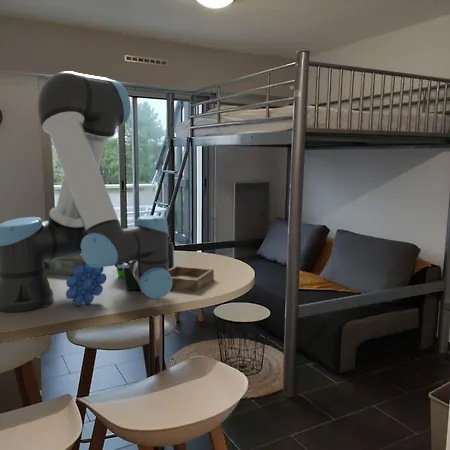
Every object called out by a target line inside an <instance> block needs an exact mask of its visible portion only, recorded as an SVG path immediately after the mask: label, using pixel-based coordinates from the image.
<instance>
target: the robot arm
mask: <svg viewBox="0 0 450 450" xmlns="http://www.w3.org/2000/svg"><path fill="white" fill-rule="evenodd" d="M131 107H132V105H131V99H130V96H129V93H128V91H127V89H126V87H125V86H124V85H123V84H122V83H121V82H120V81H117V80H114V79H111V78H107V77H103V76H95V75H90V74H85V73H84V74H83V73H79V72H75V71H60V72H57V73H55V74H52V75H51V76H49V77H48V79H46V80H45V82H44V83H43V85H42V87H41V88H40V91H39V94H38V98H37V115H38V121H39V122H40V125H41V129H42V130H43V132H44V133H46V134H48V135H49V137H50V139H51V142H52V144H53V147H54V150H55V152H56V153H55V154H56V155H57V158H58V160H59V163H60V166H61V169H62V171H63V174H64V175H63V178H62V183H61V186H60V190H59V196H58V199H57V200H58V201H57V203H56V206H55V207H52V208H51V209H50V210H49V213H48V218H47V220H42V218H41V217H38V216H27V217H19V218H13V219H10V220H6V221H3V222H2V223H0V312H3V313H4V312H5V313H17V312H18V313H19V312H27V311H33V310H38V309H42V308H43V307H46V306H48V305H50V304H52V303H53V301H54V291H53V288H51V285H50V283H49V279H48V277H47V273H45V262H47V261H52V260H57V259H62V258H68V257H75V256H78V255H82V258H83V260H84V261H85V263H86V264H87V265H88V266H90V267H92V268H100V267H103V268H105V267H112V266H114V267H115V268H116V269H117V268H118V271H122V270H123V269H125V268H128V269H129V270H131V272H132V274H133V276H134V277H135V279H136V281H137V282H138V284H139V286H140V289H139V290H141V292H142V293H143V294H144V295H145V296H147V297H148V298H150V299H161V298H164V297H165V296H166V297H167V295H168V294H169V293H170V292H171V290H172V289H171V288H172V278H171V276H170V273H169V260H168V235H170V234H169V225H168V220H167V218H166V217H165V216H161V215H141V216H139V217H137V218H136V221H135V222H136V223H135V226H132V227H126V228H122V226H121V223H120V221H119V218H118V215H117V213H116V210H115V208H114V204H113V202H112V200H111V197H110V194H109V192H108V188H107V185H106V184H105V182H104V178H103V175H102V173H101V170H100V167H101V164H102V160H103V157H104V156H103V155H104V153H105V148H106V145H107V141H108V140H109V139H111V138H113V137H114V136H115V134H116V130H117V127H119V126H123V125H124V124H125V123H127V122H128V121H129V118H130V115H131V110H132V109H131Z"/></svg>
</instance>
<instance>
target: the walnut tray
mask: <svg viewBox="0 0 450 450" xmlns="http://www.w3.org/2000/svg"><path fill="white" fill-rule="evenodd" d="M169 273H170V276H171V278H172V288H171V290H178V291H179V290H180V291H187V292H195V291H196V292H195V293H197V292H198V291H201V290H202V289H203V288H204V287H205V285H206V286H207V285H209V284H210V283H211V282H212V280H213V281H214V280H215V276H214V275H215V274H214V273H215V271H214V268H213V269H211V268H205V267H203V268H201V267H191V266H181V265H174V267H172V268H170V269H169ZM209 282H210V283H209Z"/></svg>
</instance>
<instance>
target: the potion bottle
mask: <svg viewBox="0 0 450 450" xmlns="http://www.w3.org/2000/svg"><path fill="white" fill-rule="evenodd" d="M124 273H125V278H124V281H125V287H126V288H127V289H129V290H133V291H134V290H135V291H136V290H141V289H140V286H139V284H138V282H137V281H136V279H135V277H134V276H133V274H132V272H131V270H129V269H128V268H125V269H124Z"/></svg>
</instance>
